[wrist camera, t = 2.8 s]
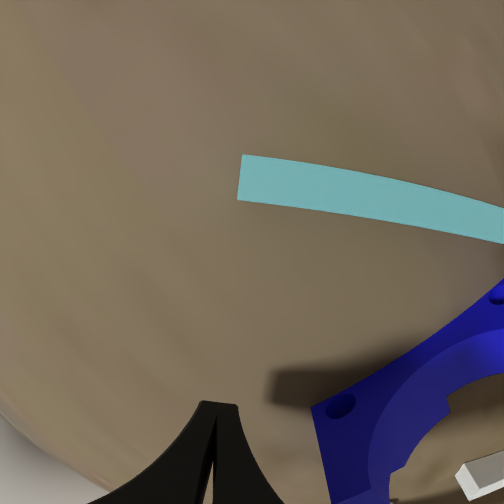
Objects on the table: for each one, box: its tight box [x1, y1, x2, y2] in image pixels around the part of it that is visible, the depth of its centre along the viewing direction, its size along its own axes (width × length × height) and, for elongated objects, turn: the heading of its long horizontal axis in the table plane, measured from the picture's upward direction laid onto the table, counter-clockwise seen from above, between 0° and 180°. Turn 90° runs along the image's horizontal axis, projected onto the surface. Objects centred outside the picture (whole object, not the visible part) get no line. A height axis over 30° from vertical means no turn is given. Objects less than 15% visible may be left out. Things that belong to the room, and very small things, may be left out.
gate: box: [237, 155, 504, 244], centre depth 10 cm, size 17×1×3 cm, turn 83°
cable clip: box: [311, 279, 504, 504], centre depth 11 cm, size 12×4×6 cm, turn 122°
